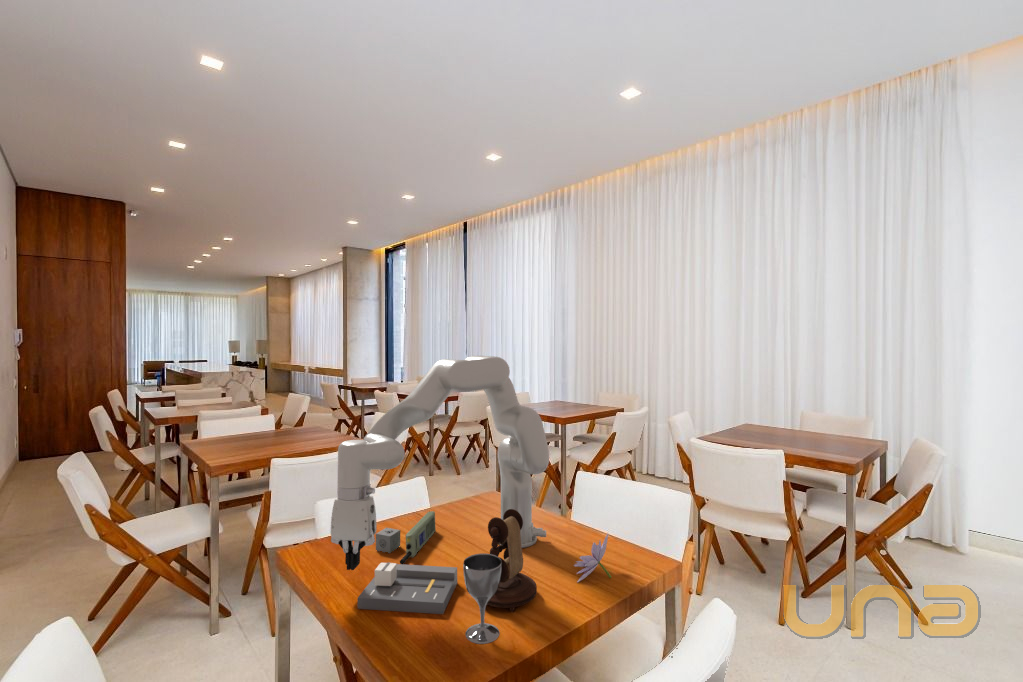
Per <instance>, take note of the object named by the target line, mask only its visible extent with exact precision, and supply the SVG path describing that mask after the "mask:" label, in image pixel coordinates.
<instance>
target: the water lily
mask: <svg viewBox="0 0 1023 682" xmlns="http://www.w3.org/2000/svg"><path fill="white" fill-rule="evenodd" d="M608 539H609V532H607V534H606V535H605V538H604V540H603V543H601V541H602V540H598V544H597V543H596V542H593V543H592V545H591V551H590V552H591V554H590V555H581V556H579V559H580V560H578V561H577V560H576V561H575V562H574V564H573V566H574V567H577V568H581V569H580V570H579V571H578V572H576V575H578V574H582V573H583V574H582V575H581V576H580V577H579V579H578V580H577V582H576V583H579V582H581V581H582V580H584V579H585V578H587V577H588V576H589V575H591V573H592V572H594V570H596V567H598V566H600V568H601V569H602V570H603V572H604V573H605V574H606V575H607V577H608V578H609V579H611V578H612V575H611V574H610V572H609V571H608V570H607V568H606V567H605V566H604V565H603V564H602V563H601V561H602V559H603V557H604V556H605V553H606V550H607V544H608Z"/></svg>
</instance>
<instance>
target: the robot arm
mask: <svg viewBox="0 0 1023 682" xmlns="http://www.w3.org/2000/svg"><path fill="white" fill-rule="evenodd" d="M477 391H478V392H479V391H484V393H485V395H486V397H487V400H488V404H489V407H490V411H491V415H492V419H493V424H494V427H495V429H496V431H497V432H498V433H499V434H501V435H504V436H506V437H505V438H504V439H502V440H501V441H500V443H499V445H498V446H497V447H498V448H497V461H498V466H499V474H500V475H499V476H500V518H501V519H502V520H503V516H504V513H505V512H506V511H507V510H509V509H514V510H516V511H518V512H519V513H520V515H521V517H522V519H523V526H522V529H521V530H520V534H521V547H522V549H524V548H528V547H531V546H533V545H535V544H536V542H537V540H538V537H540V538H547V530H546V529H545V530H544V529H543V527H536V526H534V522H533V519H532V518H533V515H532V513H533V510H532V503H533V502H532V501H533V496H532V495H533V493H532V492H533V487H532V486H533V483H532V477H531V475H534V476H536V475H540V474H542V473H544V472H545V471H546V470H547V468H548V466H549V463H550V450H549V446H548V441H547V436H546V432H545V428H544V423H543V420H542V418H541V416H540V415H539V413H538V412H537V411H536V410H535V409H534V408H532V407H529V406H525V405H521V404H520V402H519V400H518V395H517V393H516V389H515V387H514V384H513V382H512V380H511V379H510V366H509V364H508V362H507V361H506V360H505V359H503V358H502V357H500V356H493V355H491V356H490V355H470V356H468V357H466V358H464V359H450V358H445V359H444V358H443V359H440V360H438V361H436V362H435V363H434V364H433V365H432V366H431V367H430V369H429V370H428V371H427V372H426V373H425V374H424V376H423V377H422V378H421V380H420V381H419V382H418V384H417V385H416V386H415V387H414V388H413V389H412V391H411V392H410V393H409V394H408V395H407V396H406V397H405V398H404V399H403V400H401V401H400V402H399V403H398V404H396V405H394V406H393V407H392V408H391V409H389V410H388V411H387V412H385V413H384V414H383V415H382V416H381V417H380V418H378V420H377V421H376V422H375V424H373V426H372V427H371V428H370V429H369V430H368V432H367V433H366V435H365V436H364V437H363V439H350V440H348V439H347V440H345V441H343V442H341V443H339V445H338V447H337V486H336V487H337V494H336V495H337V496H336V497H335V498H334V501H333V506H332V510H331V511H332V512H331V517H330V518H331V519H330V536H331V539H330V542H331V543H332V544H335V545H339V546H340V548H341V549H342V550H343V553H344V554H345V565H346V570H347V571H355V570H356V568H357V567H359V565H360V563H361V550H362V549H363V548H364V547H368V546H372V545H374V543H376V537H375V535H376V533H377V528H378V527H377V525H378V524H377V512H376V505H375V499H374V496H373V495H374V494H375V493H376V488H375V487H372V486H371V485H372V484H371V470H381V471H382V470H391V469H394V468H397V467H398V466H400V465H401V463H402V462H403V461H404V458H405V455H406V454H405V449H404V446H403V444H402V443H401V442H399V440H397V438H398V437H400V435H401V434H403V433H404V431H406V430H407V429H409V428H411V427H413V426H415V425H417V424H418V425H419V424H421V423H424V422H426V421H428V420H429V419H432V417H434V416H435V414H436V413H437V411H438V410H439V408H441V406H443V405H442V404H444V402H445V401H446V400H447V399H448V397H450V394H451V393H452V392H456V393H467V392H477ZM499 546H501V544H499Z"/></svg>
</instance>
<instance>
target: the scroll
mask: <svg viewBox="0 0 1023 682" xmlns="http://www.w3.org/2000/svg"><path fill="white" fill-rule="evenodd" d="M522 526H523V519H522V517H521V515H520V513H519V512H518V511H516V510H514V509H509V510H507V511H506V512H505V513H504V516H503V520H502V519H501V517H497V516H495V517H493V518H491V519H490V520H489V522H488V524H487V532H488V534H489V536H490V537H491V539H492V540H491V545H490V546H491V548H490V550H489V554H493V555H496V556H498V557H499V558H500V559H501V579H500V584H499V587H498V590H497V592H496V593H495V594H494V595H493V597H492V598H491V599H490V600H489V601H488V603H487V605H486V606H491V607H495V608H501V609H502V608H503V609H504V608H506V609H507V608H509V610H510V612H511V613H513V612H514V611H515V608H517V607H520V606H524V605H526V604H528V603H530V602H531V601H532V600H534V598H536V596H537V593H538V588H537V587H538V586H537V583H536V581H535V580H534V579H532V577H530V576H528V575H526V574H525V573H522V570H523V567H524V555H523V548H522V547H521V534H520V530H521V529H522ZM500 544H501V545H500ZM503 550H504V551H503ZM502 552H503V558H502V557H500V554H501V553H502Z"/></svg>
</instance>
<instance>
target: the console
mask: <svg viewBox="0 0 1023 682" xmlns="http://www.w3.org/2000/svg"><path fill="white" fill-rule="evenodd" d="M457 585H458V567H455V566H441V565H440V566H437V565H433V566H432V565H420V564H405V563H404V564H400V563H397V578H396V580H395V581H394V583H393V584H392V585H391V586H378V585H375V576H374V577H373V578H372V579H371V580H370V582H369V583H368V584H367V585H366V587H365V588H364V589H363V590H362V592H361V593H360V594H359V595H358V597H357V609H359V610H371V611H372V610H373V611H374V610H375V611H376V610H377V611H391V612H402V613H404V612H405V613H417V614H419V613H420V614H432V615H433V614H435V615H444V613H445V611H446V609H447V607H448V606H449V605H448V604H449V602H450V600H451V597H452V596H453V593H454V591H455V589H456V587H457Z"/></svg>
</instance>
